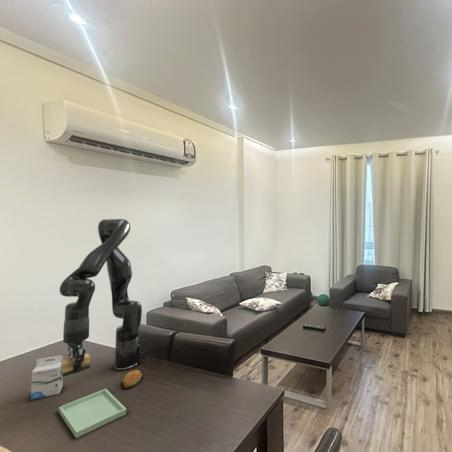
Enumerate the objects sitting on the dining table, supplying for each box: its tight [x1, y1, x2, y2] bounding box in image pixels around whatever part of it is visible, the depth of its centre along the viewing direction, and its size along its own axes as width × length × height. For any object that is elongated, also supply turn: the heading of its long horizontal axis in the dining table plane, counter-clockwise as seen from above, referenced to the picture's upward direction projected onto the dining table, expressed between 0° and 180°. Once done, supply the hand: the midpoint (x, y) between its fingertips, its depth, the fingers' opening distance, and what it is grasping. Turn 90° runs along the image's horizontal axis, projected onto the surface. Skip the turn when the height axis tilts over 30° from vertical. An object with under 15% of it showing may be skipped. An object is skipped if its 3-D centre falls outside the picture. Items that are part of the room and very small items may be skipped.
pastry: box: [122, 369, 143, 389], centre depth 122 cm, size 9×7×4 cm
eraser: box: [60, 352, 91, 378], centre depth 108 cm, size 8×4×5 cm, turn 146°
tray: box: [58, 388, 127, 439], centre depth 103 cm, size 14×21×2 cm
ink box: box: [30, 354, 64, 401], centre depth 113 cm, size 8×5×15 cm, turn 123°
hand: (75, 370), depth 108 cm, fingers closed on eraser, 4 cm apart
